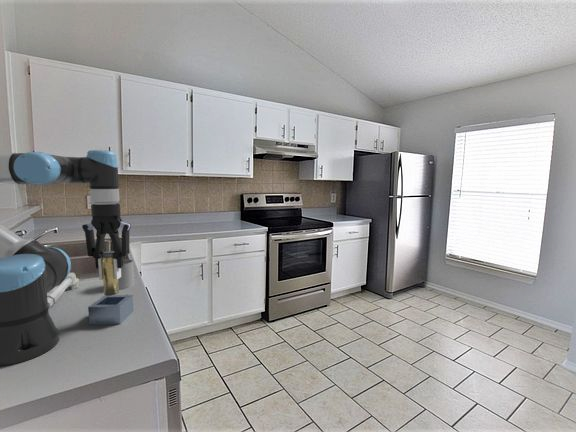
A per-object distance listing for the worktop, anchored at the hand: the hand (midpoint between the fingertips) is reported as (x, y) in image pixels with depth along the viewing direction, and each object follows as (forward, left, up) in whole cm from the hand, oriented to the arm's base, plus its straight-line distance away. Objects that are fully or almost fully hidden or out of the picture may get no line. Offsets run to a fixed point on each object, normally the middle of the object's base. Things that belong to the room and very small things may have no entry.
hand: (110, 278), depth 94 cm
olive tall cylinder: (0, 0, -5) cm, 5 cm away
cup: (+29, +10, -13) cm, 33 cm away
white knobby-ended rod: (+18, +27, -13) cm, 35 cm away
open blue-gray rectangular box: (0, 0, -13) cm, 13 cm away
